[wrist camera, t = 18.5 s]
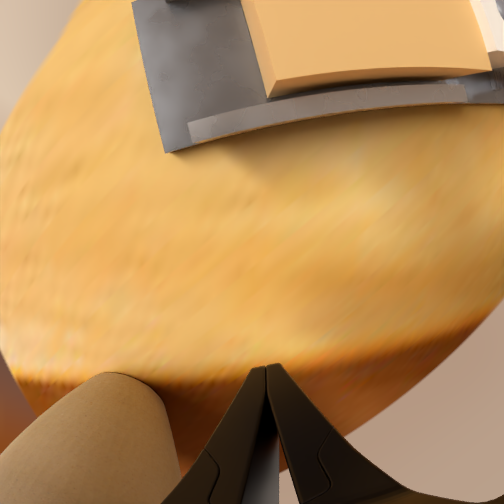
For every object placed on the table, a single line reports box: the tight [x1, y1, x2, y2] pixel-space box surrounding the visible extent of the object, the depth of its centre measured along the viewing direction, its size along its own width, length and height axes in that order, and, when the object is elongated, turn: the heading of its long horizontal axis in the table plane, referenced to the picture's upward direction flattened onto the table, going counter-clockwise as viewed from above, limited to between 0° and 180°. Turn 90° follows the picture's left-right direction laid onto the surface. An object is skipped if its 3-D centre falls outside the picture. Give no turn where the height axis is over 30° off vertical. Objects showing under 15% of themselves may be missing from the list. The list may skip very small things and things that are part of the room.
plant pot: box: [0, 373, 182, 504], centre depth 16 cm, size 15×15×16 cm
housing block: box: [469, 0, 504, 69], centre depth 11 cm, size 5×5×6 cm
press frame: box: [132, 0, 504, 153], centre depth 11 cm, size 25×10×7 cm, turn 103°
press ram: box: [240, 0, 492, 98], centre depth 11 cm, size 11×7×5 cm, turn 103°
